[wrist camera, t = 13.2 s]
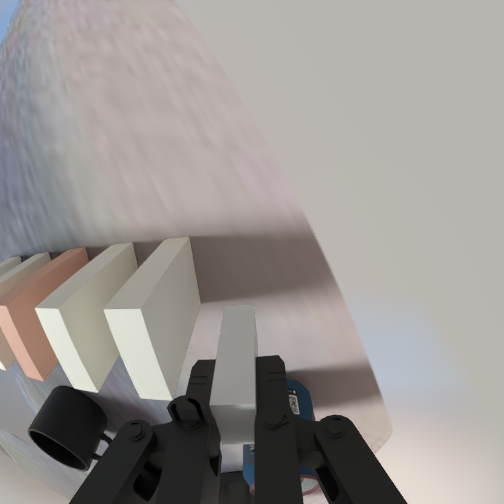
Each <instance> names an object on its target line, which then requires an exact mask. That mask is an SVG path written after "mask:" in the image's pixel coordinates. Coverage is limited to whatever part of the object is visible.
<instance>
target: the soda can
mask: <svg viewBox="0 0 504 504" xmlns="http://www.w3.org/2000/svg"><path fill="white" fill-rule="evenodd" d="M286 378H287V386H288V393H289V400H290V407H291V410H292V411H293V413H294V414H295V415H297V416H298V417H300V418H302V419H306V420H311V421H315V416H314V412H313V407H312V402H311V397H310V394H309V391H308V390H307V389H306V388H305V387H304V386H303V385H302V384H301V383H299V382H298V381H296V380H294V379H292V378H290V377H286ZM299 469H300V477H301V486H302V495H303V496H304V495H307V494H309V493H312V492H314V491H315V490H317V489H318V488H319V486H320V485H319V483H318V481H317V479H316V477H315V475H314V473H313V471H312V469H311V468H304V467H299ZM243 476H244V478H245V480H246V482H247V483H248V485H249V486H250V492H251V493H252V494H253V495H254V496H255V486H254V444H243Z"/></svg>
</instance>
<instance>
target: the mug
mask: <svg viewBox="0 0 504 504" xmlns="http://www.w3.org/2000/svg"><path fill="white" fill-rule="evenodd" d="M106 426H107V419H106V416H105V414H104V413H103V411H102V410H101V409H100V408H99V407H98V406H97V405H96V404H95V403H94V402H93V401H91V400H90V399H89V398H87V397H86V396H85V395H83V394H81V393H80V392H78V391H76V390H74V389H71V388H68V387H64V386H59V387H56V388H54V389H53V390H52V392H51V394H50V395H49V397H48V398H47V400H46V401H45V403H44V404H43V406H42V408H41V409H40V411H39V412H38V414H37V416H36V417H35V419H34V421H33V422H32V424H31V426H30V427H29V429H28V434H29V436H30V438H31V439H32V440H33V442H34V443H35V444H36V445H37V446H38V447H39V448H40V449H41V450H43V451H44V452H45V453H46V454H48V455H49V456H50V457H52V458H53V459H55V460H56V461H58V462H60V463H62V464H64V465H66V466H68V467H70V468H72V469H75V470H78V471H88V470H89V468H90V465H91V463H92V460H93V459H94V460H98V461H99V459H100V458H101V456H100V455H98V454H96V450H97V448H98V445H99V443H100V440H104V441H106V442H107V443H108V444H109V445H110V443H111V442H112V439H111V438H110V437H108V436H107V435H106V434H104V431H105V428H106Z"/></svg>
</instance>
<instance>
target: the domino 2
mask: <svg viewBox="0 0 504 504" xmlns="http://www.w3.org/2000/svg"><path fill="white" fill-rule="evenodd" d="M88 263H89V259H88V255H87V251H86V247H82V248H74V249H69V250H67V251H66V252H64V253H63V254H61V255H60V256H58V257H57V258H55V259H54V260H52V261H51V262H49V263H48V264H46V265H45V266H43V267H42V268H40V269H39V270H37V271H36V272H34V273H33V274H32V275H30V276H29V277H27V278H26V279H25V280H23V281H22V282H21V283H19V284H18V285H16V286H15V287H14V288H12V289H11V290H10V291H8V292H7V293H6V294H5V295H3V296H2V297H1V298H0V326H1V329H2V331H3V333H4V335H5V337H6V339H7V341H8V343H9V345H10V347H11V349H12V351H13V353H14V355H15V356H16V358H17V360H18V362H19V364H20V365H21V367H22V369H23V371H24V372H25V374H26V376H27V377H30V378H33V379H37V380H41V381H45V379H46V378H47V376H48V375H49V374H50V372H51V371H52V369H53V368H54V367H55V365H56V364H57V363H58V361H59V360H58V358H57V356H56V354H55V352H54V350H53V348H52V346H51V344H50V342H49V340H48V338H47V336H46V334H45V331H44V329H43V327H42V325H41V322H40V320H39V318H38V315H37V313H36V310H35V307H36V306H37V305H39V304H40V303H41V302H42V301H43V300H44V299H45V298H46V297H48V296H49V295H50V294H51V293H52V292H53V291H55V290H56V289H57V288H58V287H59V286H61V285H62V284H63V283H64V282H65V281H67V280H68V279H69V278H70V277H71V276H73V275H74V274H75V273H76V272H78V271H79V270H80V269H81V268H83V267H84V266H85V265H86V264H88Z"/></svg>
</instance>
